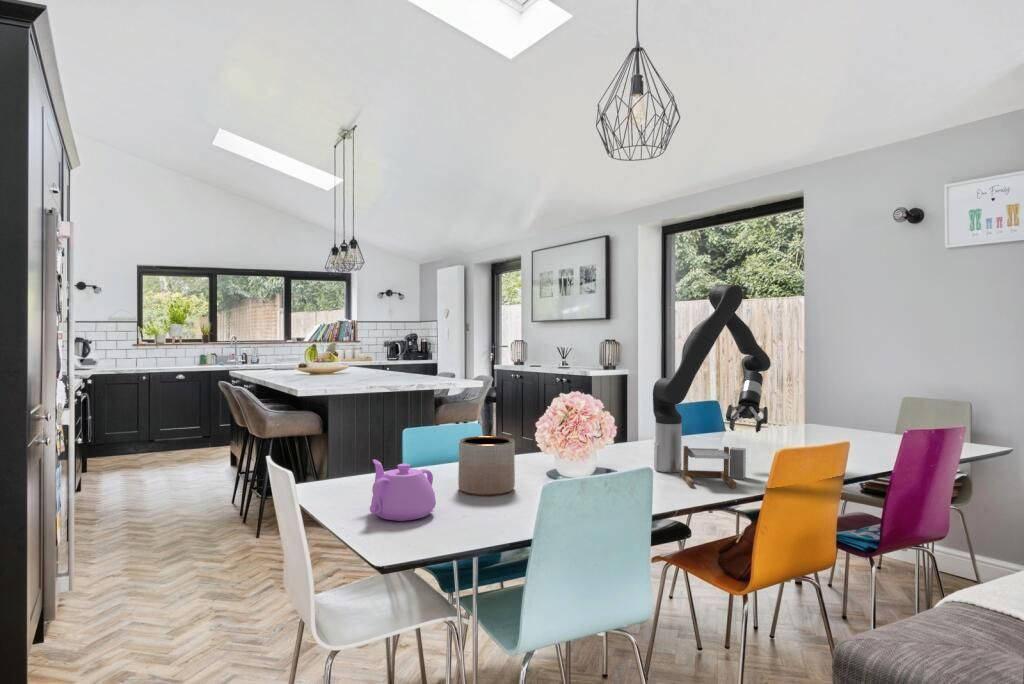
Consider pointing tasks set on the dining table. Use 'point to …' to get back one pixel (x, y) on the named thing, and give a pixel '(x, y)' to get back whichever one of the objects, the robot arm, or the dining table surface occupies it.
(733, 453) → the basalt block
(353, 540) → the dining table surface
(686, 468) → the brown wooden frame
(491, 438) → the planter
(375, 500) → the teapot
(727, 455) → the trapdoor plate
